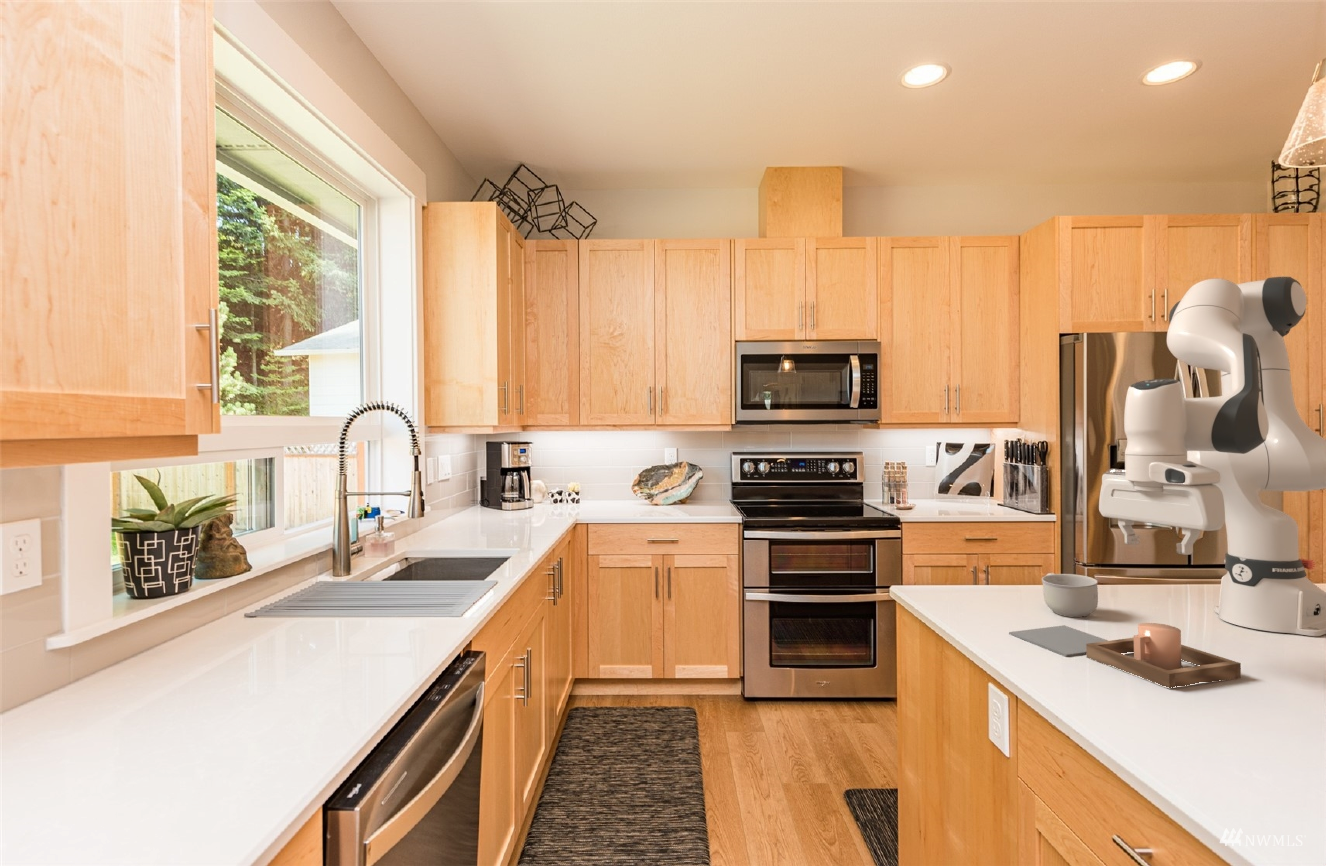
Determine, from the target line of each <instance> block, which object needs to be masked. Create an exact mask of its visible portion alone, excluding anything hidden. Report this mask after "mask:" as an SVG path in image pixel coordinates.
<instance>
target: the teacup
mask: <svg viewBox="0 0 1326 866" xmlns="http://www.w3.org/2000/svg"><path fill="white" fill-rule="evenodd" d="M1041 582H1042V591H1043V592H1042V593H1043V599H1044V603H1045V604H1046V606H1047V607H1048V609H1050V610H1052V612H1053V613H1055V614H1057V615H1059V614H1061V615H1060V616H1063V615H1065V616H1064V617H1068V616H1073V617H1072V618H1081V617H1082V616H1084V617H1087V616H1089V615H1090V614H1091V613H1093V612H1094V611H1096V609H1097V608H1098V604H1099V603H1098V602H1099V592H1098V584H1099V582H1098V580H1097V579H1096V578H1093V577H1090V576H1087V575H1082V574H1081V575H1080V574H1073V573H1054V572H1049V573H1047V574H1046V575H1045V576H1042V577H1041Z"/></svg>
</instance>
